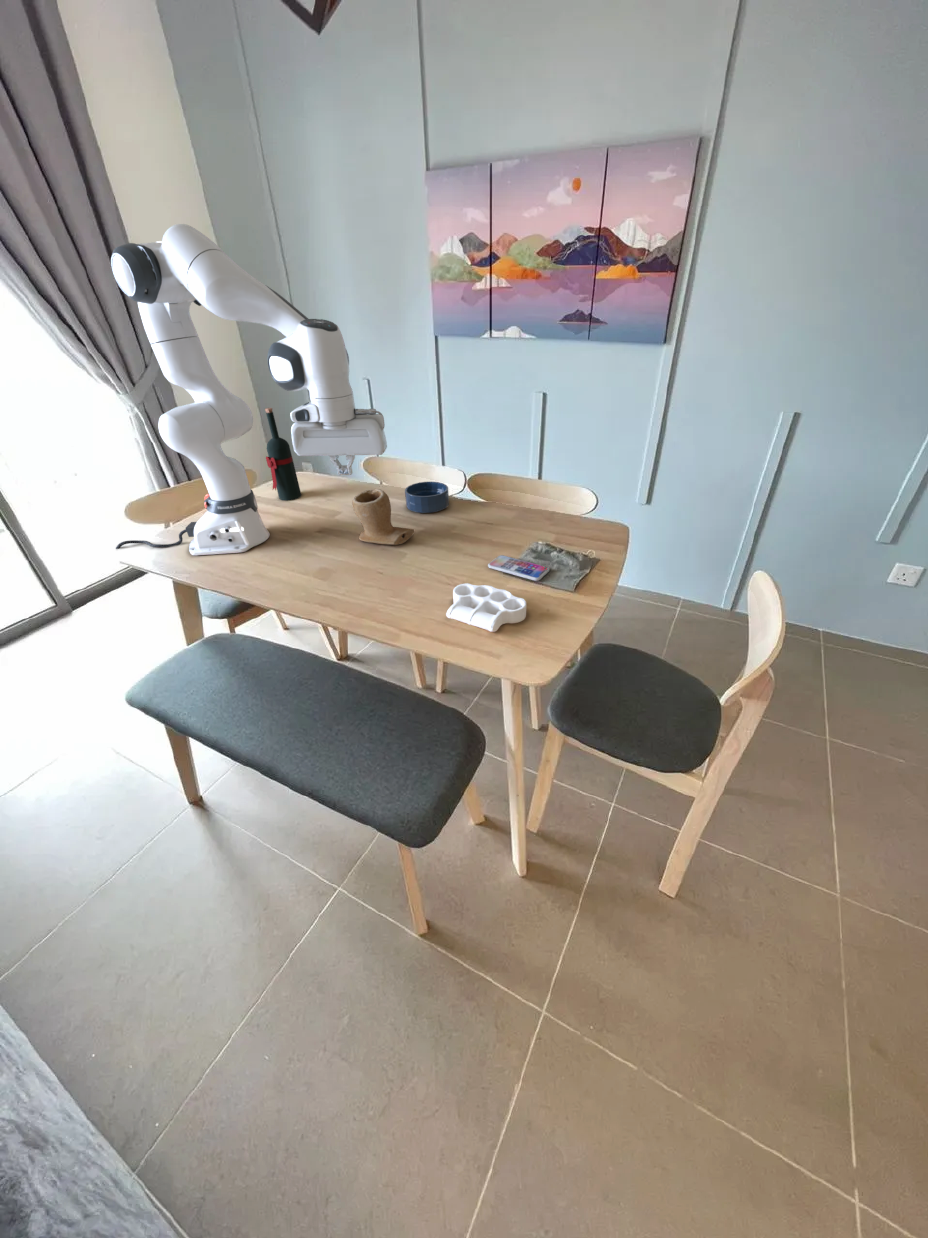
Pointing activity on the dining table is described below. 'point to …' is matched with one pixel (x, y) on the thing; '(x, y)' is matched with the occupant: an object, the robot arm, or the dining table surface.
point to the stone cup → (378, 519)
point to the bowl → (427, 497)
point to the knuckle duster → (486, 606)
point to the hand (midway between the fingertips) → (345, 474)
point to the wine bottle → (281, 463)
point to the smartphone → (518, 567)
